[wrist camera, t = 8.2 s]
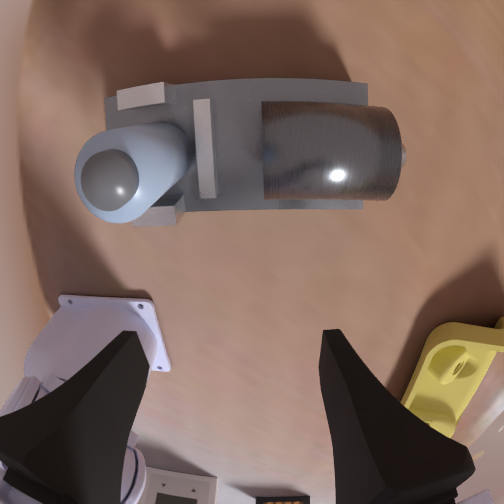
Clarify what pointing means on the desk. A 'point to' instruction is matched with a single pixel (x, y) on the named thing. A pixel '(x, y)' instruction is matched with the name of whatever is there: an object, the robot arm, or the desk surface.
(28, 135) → the desk surface
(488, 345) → the plastic component
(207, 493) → the thermostat
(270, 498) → the ammunition clip
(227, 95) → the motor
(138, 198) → the grey capped cylinder
